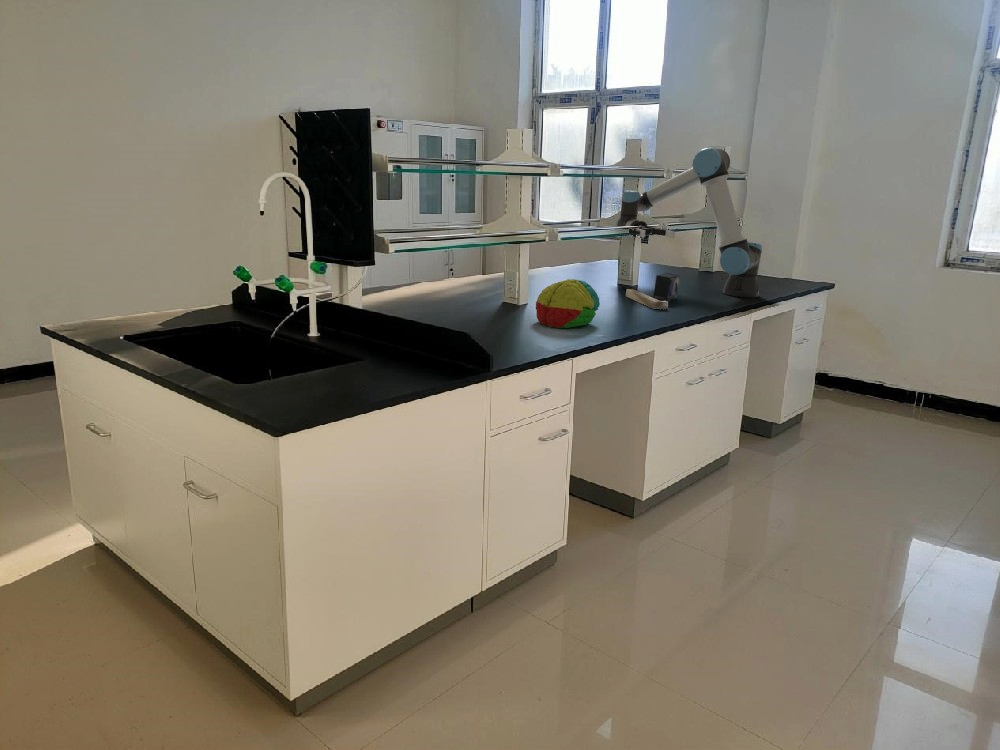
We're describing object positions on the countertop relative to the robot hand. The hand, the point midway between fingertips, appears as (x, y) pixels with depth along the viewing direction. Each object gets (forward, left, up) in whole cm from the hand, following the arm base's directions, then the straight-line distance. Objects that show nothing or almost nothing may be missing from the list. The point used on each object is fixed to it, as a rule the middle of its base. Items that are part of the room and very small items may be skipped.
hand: (659, 234), depth 300 cm
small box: (0, +12, -25) cm, 28 cm away
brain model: (+58, +52, -25) cm, 82 cm away
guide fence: (+12, +18, -25) cm, 33 cm away
